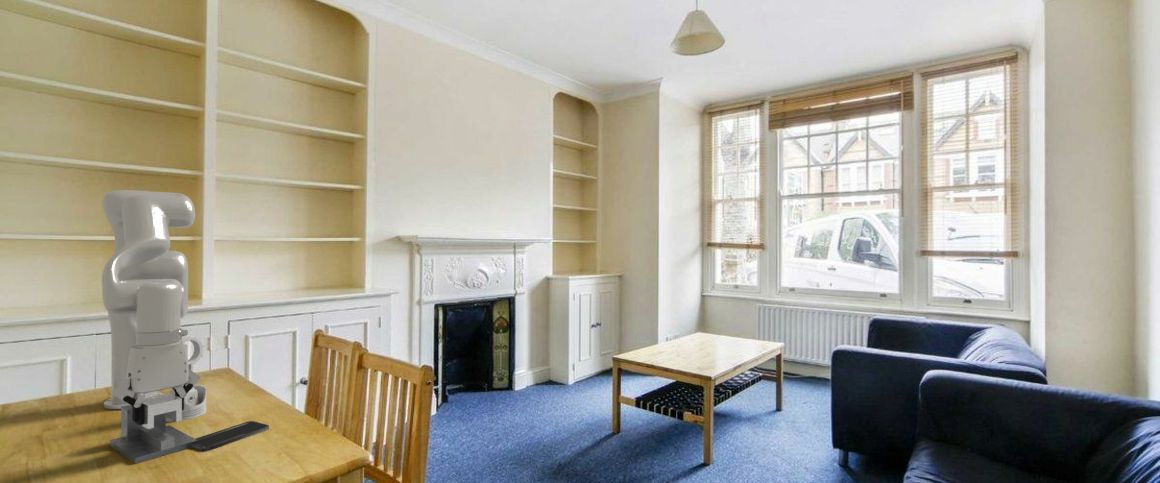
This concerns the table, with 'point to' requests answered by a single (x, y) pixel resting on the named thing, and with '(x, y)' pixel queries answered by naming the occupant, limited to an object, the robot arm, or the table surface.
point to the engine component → (197, 394)
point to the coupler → (148, 438)
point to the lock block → (162, 408)
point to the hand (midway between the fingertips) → (158, 418)
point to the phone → (229, 435)
